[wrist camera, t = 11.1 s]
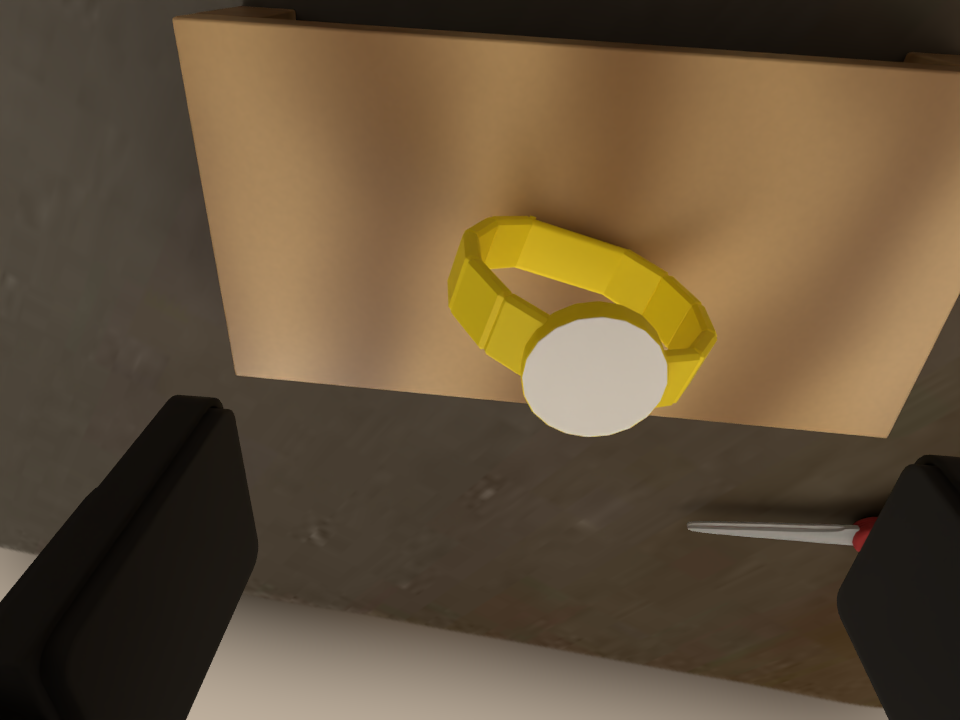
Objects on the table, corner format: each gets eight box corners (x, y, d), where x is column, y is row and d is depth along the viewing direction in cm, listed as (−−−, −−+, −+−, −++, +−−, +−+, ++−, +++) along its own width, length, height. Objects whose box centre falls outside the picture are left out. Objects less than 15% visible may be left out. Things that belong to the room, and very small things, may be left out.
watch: (451, 264, 18) (412, 387, 12) (484, 167, 16) (454, 263, 11) (654, 334, 18) (695, 478, 13) (703, 246, 17) (771, 371, 12)
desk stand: (279, 316, 24) (234, 376, 20) (240, 5, 18) (169, 16, 15) (837, 367, 23) (887, 439, 19) (967, 55, 17) (1068, 78, 14)
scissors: (1012, 582, 27) (1026, 602, 26) (675, 561, 28) (679, 579, 27) (1073, 486, 24) (1092, 505, 23) (695, 467, 25) (700, 485, 25)
